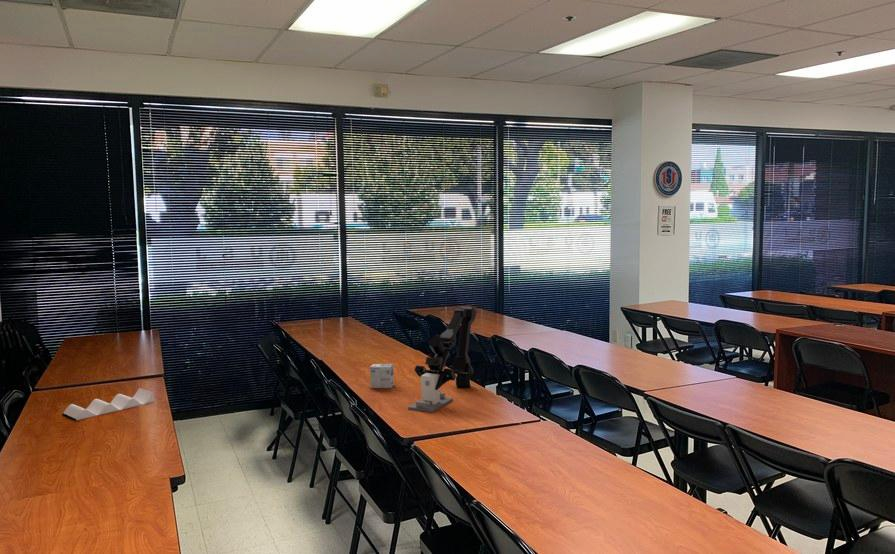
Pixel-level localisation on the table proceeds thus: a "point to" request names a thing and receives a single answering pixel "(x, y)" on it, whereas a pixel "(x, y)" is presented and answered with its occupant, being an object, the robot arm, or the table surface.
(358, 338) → the table surface
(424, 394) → the block
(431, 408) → the rail plate
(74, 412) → the grey zigzag strip
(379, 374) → the light bulb box
